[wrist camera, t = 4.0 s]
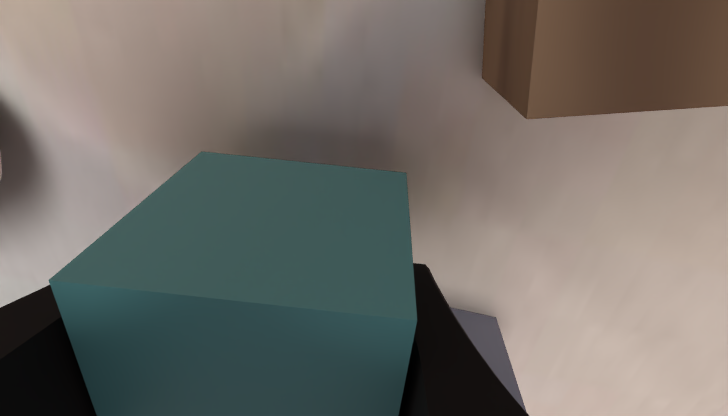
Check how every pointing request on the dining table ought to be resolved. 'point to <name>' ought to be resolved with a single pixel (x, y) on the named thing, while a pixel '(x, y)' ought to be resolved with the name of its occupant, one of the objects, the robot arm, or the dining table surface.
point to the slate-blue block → (490, 347)
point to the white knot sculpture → (0, 167)
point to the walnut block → (606, 55)
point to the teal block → (248, 294)
